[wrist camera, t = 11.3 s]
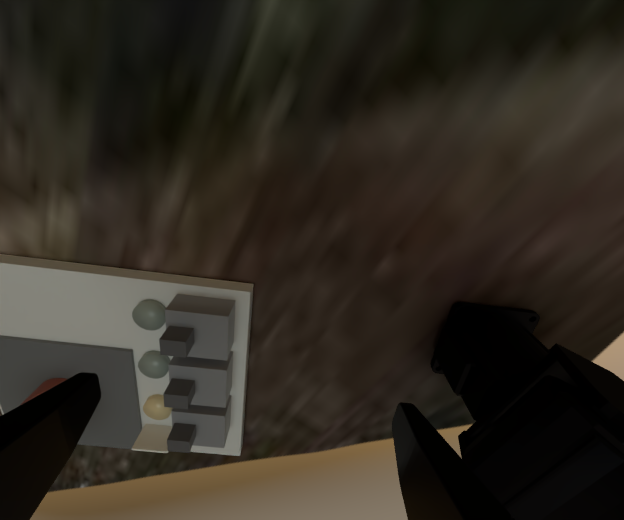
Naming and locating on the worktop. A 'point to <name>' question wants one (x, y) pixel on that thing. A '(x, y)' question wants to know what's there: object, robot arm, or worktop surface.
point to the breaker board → (131, 350)
